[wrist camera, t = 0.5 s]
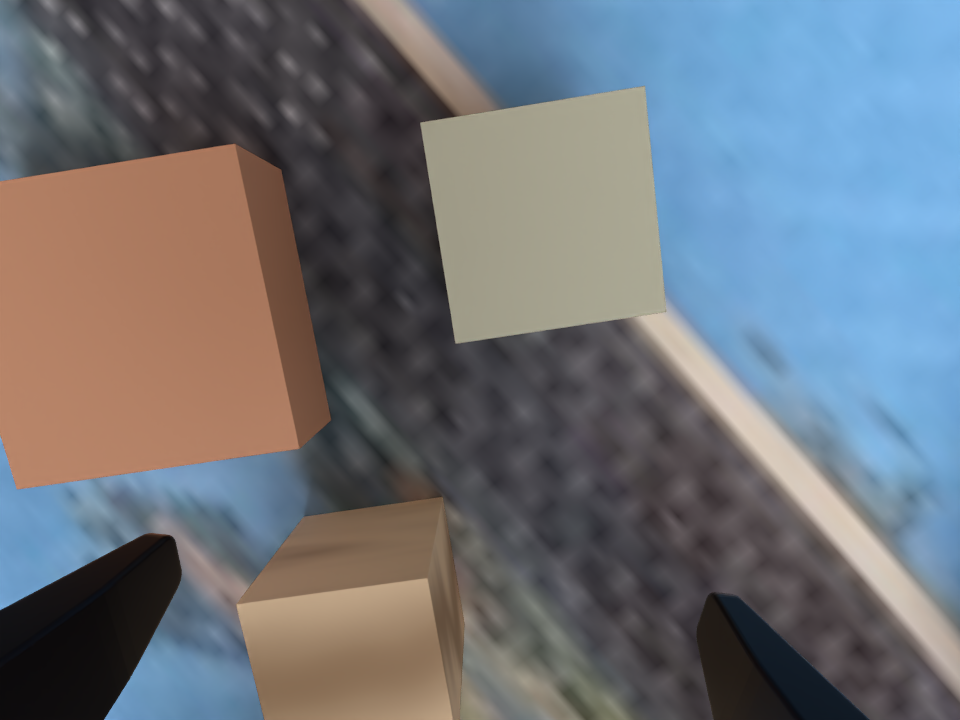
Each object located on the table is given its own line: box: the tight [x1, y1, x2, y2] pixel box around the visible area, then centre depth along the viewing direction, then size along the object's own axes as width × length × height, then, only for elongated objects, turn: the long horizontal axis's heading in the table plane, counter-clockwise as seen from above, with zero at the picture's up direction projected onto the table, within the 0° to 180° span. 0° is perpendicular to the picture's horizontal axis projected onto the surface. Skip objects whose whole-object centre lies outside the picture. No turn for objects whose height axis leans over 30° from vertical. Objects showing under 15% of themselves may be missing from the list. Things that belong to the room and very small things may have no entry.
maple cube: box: [236, 497, 465, 720], centre depth 19 cm, size 6×6×6 cm
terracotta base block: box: [0, 144, 331, 489], centre depth 18 cm, size 10×10×4 cm
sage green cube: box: [420, 86, 666, 344], centre depth 17 cm, size 6×6×6 cm
